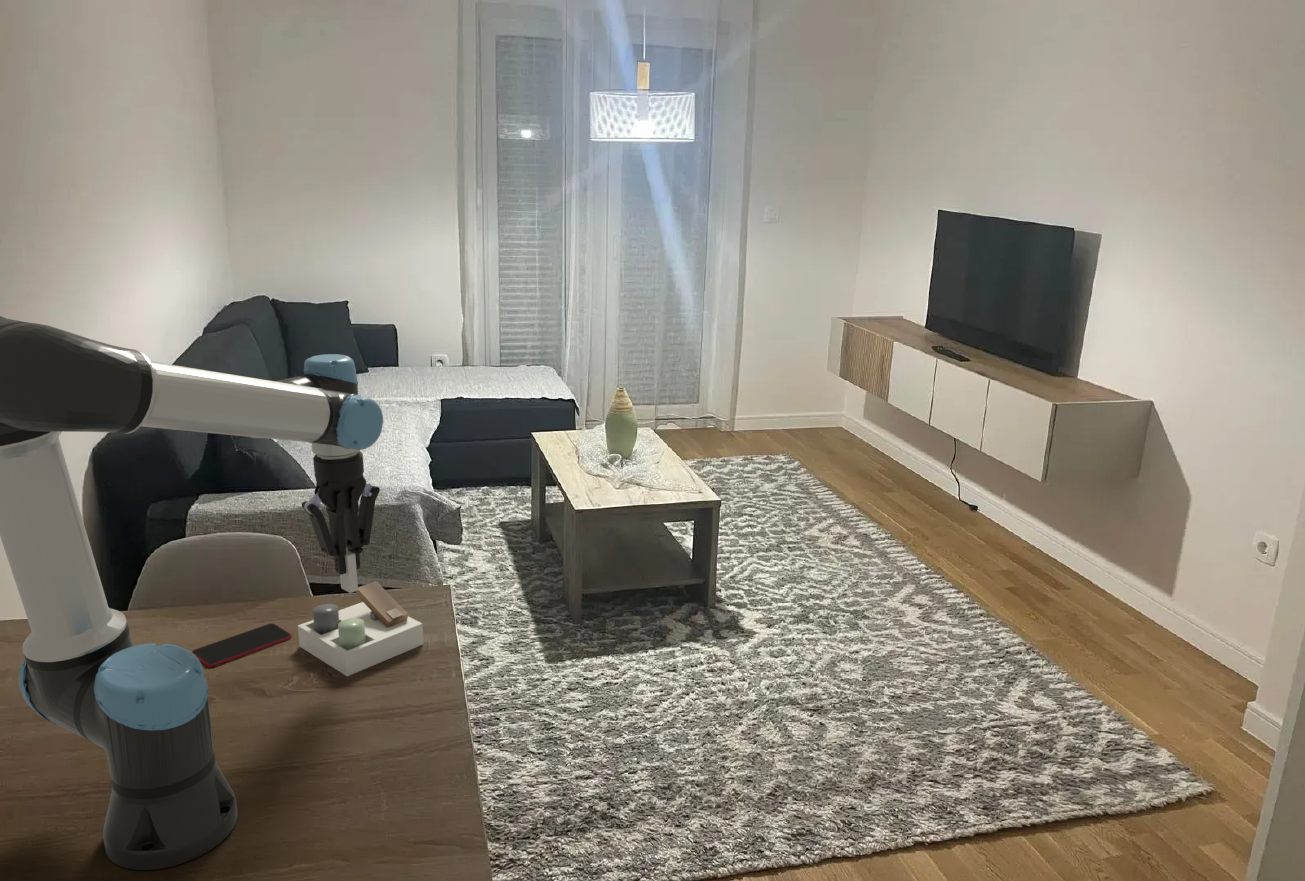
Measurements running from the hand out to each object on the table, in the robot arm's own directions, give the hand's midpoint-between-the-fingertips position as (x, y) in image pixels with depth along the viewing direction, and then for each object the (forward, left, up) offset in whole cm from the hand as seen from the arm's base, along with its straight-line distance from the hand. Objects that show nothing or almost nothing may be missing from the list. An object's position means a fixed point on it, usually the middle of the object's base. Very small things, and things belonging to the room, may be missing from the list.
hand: (349, 589), depth 162 cm
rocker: (+8, +4, -7) cm, 11 cm away
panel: (+4, +4, -13) cm, 14 cm away
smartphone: (-10, +19, -14) cm, 26 cm away
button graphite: (0, +8, -10) cm, 13 cm away
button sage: (0, 0, -10) cm, 10 cm away
